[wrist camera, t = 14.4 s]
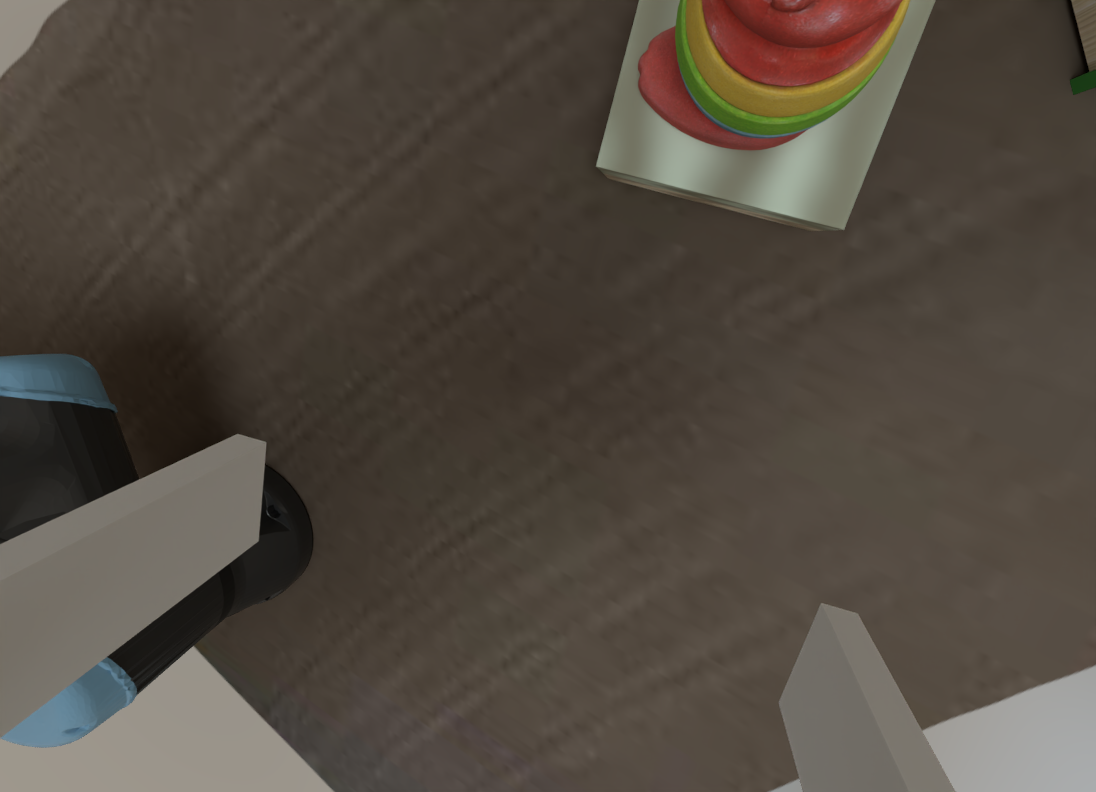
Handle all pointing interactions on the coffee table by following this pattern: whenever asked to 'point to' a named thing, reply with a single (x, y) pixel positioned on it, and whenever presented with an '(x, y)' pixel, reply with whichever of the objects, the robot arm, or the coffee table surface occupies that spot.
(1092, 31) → the hardback book
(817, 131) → the tower base
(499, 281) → the coffee table surface
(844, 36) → the stacking bear
